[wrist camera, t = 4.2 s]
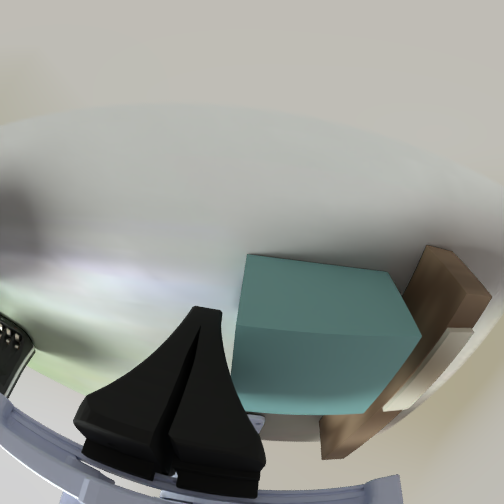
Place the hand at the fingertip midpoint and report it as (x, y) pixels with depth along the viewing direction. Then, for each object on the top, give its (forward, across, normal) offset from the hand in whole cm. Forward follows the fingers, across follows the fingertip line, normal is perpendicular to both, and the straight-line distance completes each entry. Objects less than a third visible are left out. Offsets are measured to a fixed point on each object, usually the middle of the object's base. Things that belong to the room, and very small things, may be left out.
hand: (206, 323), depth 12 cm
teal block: (+2, -5, 0) cm, 5 cm away
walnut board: (+2, -11, +4) cm, 12 cm away
